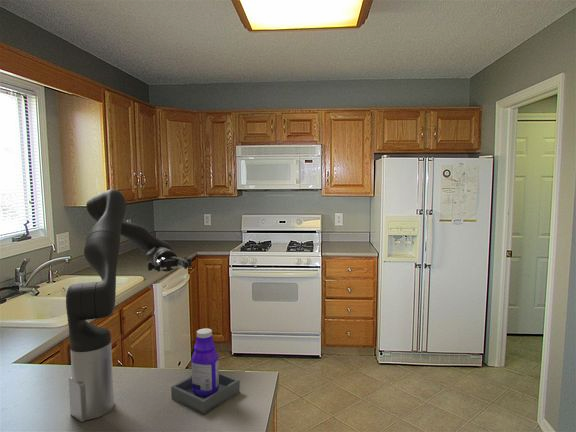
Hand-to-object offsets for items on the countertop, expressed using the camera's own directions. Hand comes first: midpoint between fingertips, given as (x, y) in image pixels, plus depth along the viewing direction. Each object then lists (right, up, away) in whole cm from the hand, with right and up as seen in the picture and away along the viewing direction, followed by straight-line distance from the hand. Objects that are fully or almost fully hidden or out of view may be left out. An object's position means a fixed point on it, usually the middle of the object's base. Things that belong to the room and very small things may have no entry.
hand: (173, 267), depth 120 cm
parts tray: (+15, -33, -19) cm, 41 cm away
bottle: (+15, -32, -19) cm, 40 cm away
